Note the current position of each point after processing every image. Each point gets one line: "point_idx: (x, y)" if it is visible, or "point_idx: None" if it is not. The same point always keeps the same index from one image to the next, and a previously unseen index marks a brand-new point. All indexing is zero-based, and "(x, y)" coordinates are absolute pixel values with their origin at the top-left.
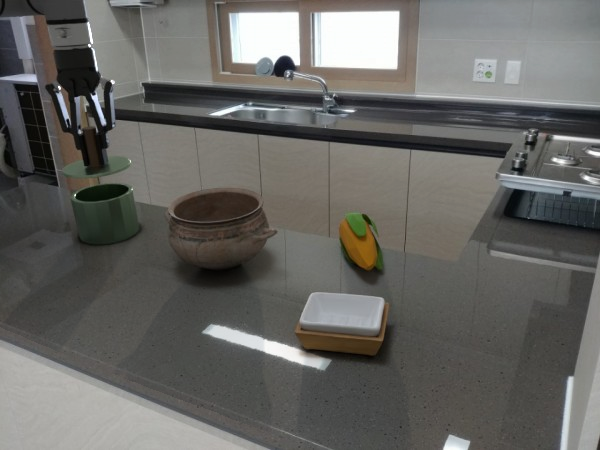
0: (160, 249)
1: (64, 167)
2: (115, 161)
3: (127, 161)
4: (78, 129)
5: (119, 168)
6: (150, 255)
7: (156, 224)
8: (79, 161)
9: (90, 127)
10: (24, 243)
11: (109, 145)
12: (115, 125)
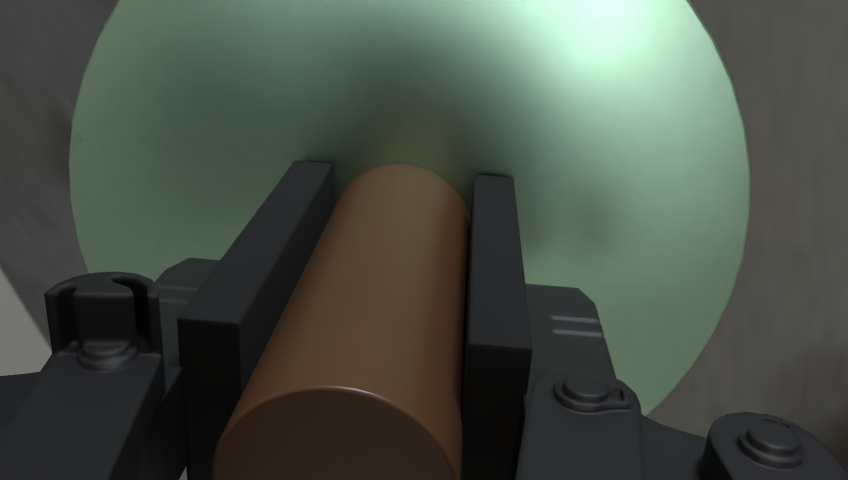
0: (729, 338)
1: (81, 217)
2: (580, 137)
3: (717, 173)
4: (146, 471)
5: (652, 387)
6: (682, 386)
7: (707, 6)
8: (151, 21)
9: (349, 476)
10: (4, 128)
11: (586, 296)
12: (820, 451)
